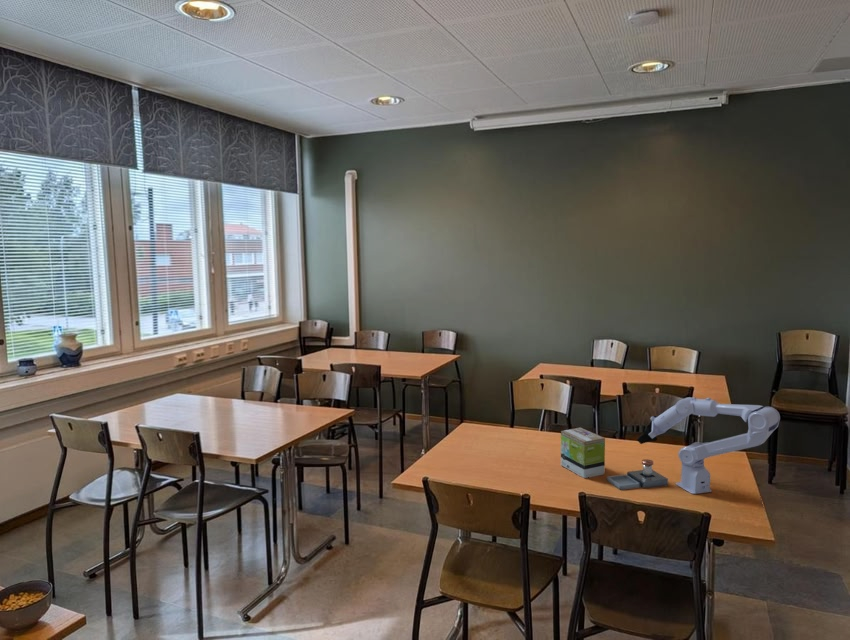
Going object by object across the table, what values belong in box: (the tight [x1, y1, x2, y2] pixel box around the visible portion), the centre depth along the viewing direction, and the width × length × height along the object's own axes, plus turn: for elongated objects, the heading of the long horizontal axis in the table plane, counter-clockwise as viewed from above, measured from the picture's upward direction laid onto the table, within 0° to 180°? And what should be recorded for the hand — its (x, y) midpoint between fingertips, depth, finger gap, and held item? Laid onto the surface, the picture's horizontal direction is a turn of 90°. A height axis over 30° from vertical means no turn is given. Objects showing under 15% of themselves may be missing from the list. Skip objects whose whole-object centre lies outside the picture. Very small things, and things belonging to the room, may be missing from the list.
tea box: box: [560, 427, 606, 479], centre depth 227 cm, size 15×10×15 cm
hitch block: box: [626, 469, 669, 489], centre depth 215 cm, size 10×10×2 cm
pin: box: [641, 458, 654, 478], centre depth 214 cm, size 4×4×8 cm
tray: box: [606, 474, 641, 491], centre depth 213 cm, size 9×8×2 cm
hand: (642, 436), depth 222 cm, fingers open, 7 cm apart
